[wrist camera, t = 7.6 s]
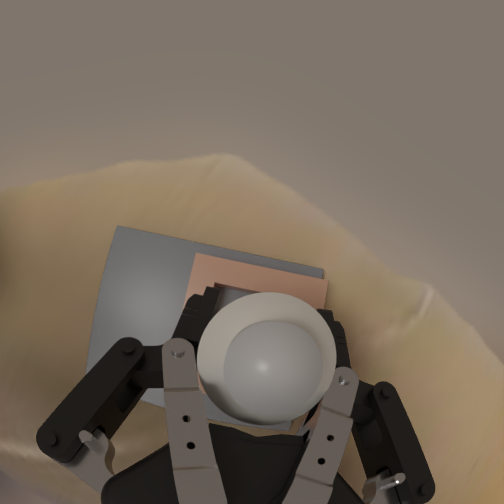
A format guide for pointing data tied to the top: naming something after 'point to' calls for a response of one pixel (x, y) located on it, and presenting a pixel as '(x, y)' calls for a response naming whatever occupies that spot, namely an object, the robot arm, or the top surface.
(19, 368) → the top surface
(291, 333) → the connector plug
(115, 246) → the holder
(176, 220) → the top surface
